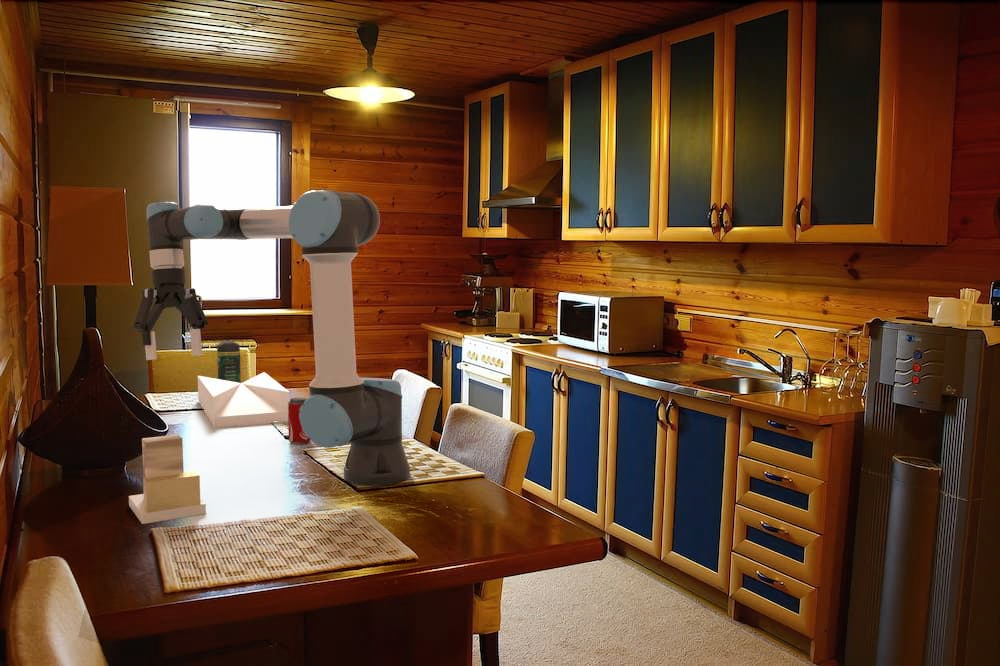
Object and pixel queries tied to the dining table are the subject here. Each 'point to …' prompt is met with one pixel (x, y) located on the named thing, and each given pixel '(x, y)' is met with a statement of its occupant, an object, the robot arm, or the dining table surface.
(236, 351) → the coffee jar
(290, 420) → the beverage can
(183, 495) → the contact block
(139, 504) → the base
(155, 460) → the wooden tall block
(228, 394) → the building model
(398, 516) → the dining table surface
